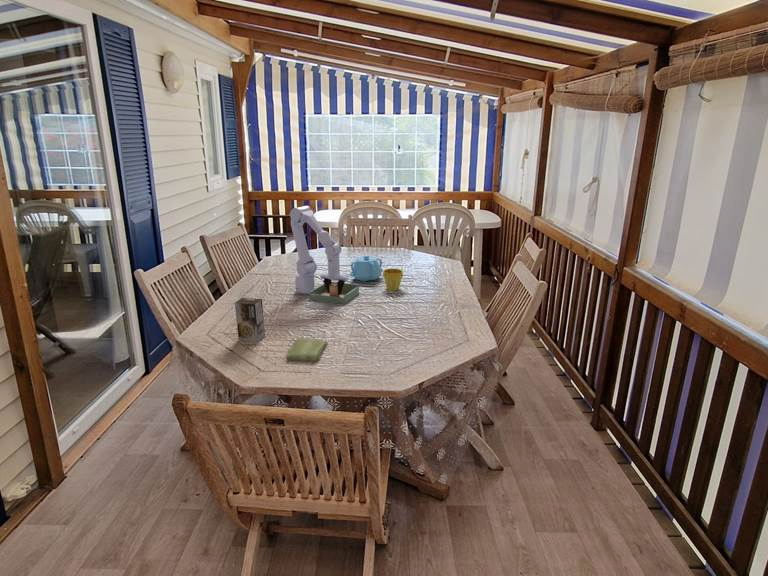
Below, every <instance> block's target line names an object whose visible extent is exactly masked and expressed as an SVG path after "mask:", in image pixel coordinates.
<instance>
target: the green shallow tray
mask: <svg viewBox="0 0 768 576" xmlns="http://www.w3.org/2000/svg"><path fill="white" fill-rule="evenodd" d="M337 282H338V281H331V284H337ZM359 294H360V285H359V284H358V283H357V284H356V283H348V282H345V283H344V285H343V288H342V293H341V294H340V297H333V296H330V293H328V291H327V288H326V286H325V284H324V283H322V284H321V285H319V286H317V287H316V288H315V289H314V290H312V291H310V294H309V300H311V301H318V302H326V303H334V304H343V305H345V304H347V303H349V301H351V300H352V299H354V298H355V297H357V296H358V295H359Z"/></svg>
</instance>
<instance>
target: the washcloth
mask: <svg viewBox="0 0 768 576" xmlns="http://www.w3.org/2000/svg"><path fill="white" fill-rule="evenodd" d="M327 344H328V340H324V339H317V338H312V337H310V338H303V337H298V338H296V340H294V342H292V345H291V347H290V348H289V349H288V351H287V354H286V357H285V358H286V360H287V361H295V362H300V361H303V362H305V361H306V362H314V363H315V362H318V361H320V359H321V356H322V353H323V351H324V350H325V347H326V346H327Z"/></svg>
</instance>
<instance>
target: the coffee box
mask: <svg viewBox="0 0 768 576" xmlns="http://www.w3.org/2000/svg"><path fill="white" fill-rule="evenodd" d="M234 308H235V310H234V311H235V317H236V326H237V328H236V329H237V335H238V336H237V338H238V341H245V342H260V341H261V340H263V339H264V338H265V337H266V331H265V320H264V319H265V318H264V308H263V299H262V298H251V297H241V298H240V299H238V300H237V301H235V302H234Z"/></svg>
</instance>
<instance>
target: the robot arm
mask: <svg viewBox="0 0 768 576" xmlns="http://www.w3.org/2000/svg"><path fill="white" fill-rule="evenodd" d="M289 217H290V227H291V231H292V235H293V239H294V242H295V247H296V251H297V255H298V259H297V261H296V273H297V274H296V276H295V280H294V281H295V283H294V284H295V291H294V292H295V293H299V294H306V295H307V294H309V295H310V291H312V290H314V289H315V275H316V272H317V269H318V266H317V263H316V262H315V259H314V258H313V257H312V256H311V255H310V252H309V251H310V250H309V248H308V243H307V240H306V236H305V232H304V227H303V225H305V223H306V224H308V225H309V226H310V228H311V229H312V230H313V231H314V232H315V234H317V239H318V241H319V242H320V243H321V245H322V246H323V248H324V252H325V254H326V255H325V256H326V258H327V272H328V273H326V274H322V273H321V274H320V275H319V276H320V279H321V280H322V283H323V284H325V286H326V288H327V291H328V293H329V285H330V284H331V282H332V281H336V282H337V285H338V295H340V294H341V293H342V288H343V285H344V283H348V282H349V276H344V275H341V273H340V272H341V271H340V270H341V269H340V267H341V266H340V254H341V252H342V246H341V244H340V243H339V242H336V241H335V240H334V239H333V237H332V236H331V234H330V233H329V232H328V231H326V230H324V229H323V228H322V226H321V225H320V223H319V222H318V220H317V218H316V217H315V216H314V211H313V210H312V208H311V207H310V206H309V205H303V206H300V207H299V206H297V207H293V208H292V209H291V211H290V212H289Z"/></svg>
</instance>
